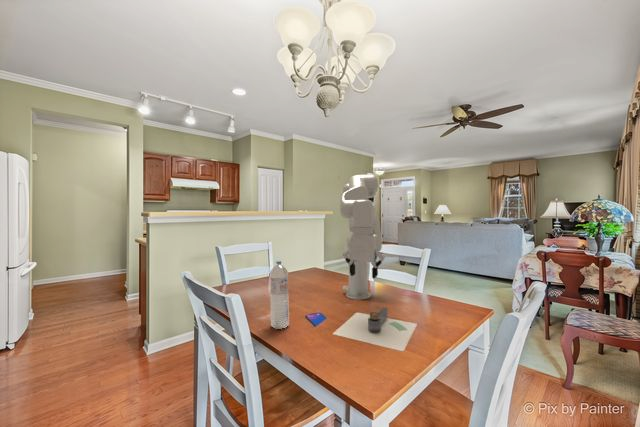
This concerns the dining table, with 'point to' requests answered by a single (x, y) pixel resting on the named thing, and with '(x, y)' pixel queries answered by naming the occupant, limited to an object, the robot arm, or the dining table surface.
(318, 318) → the smartphone
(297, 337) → the dining table surface
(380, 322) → the grey lever handle
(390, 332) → the dial plate
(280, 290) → the water bottle
